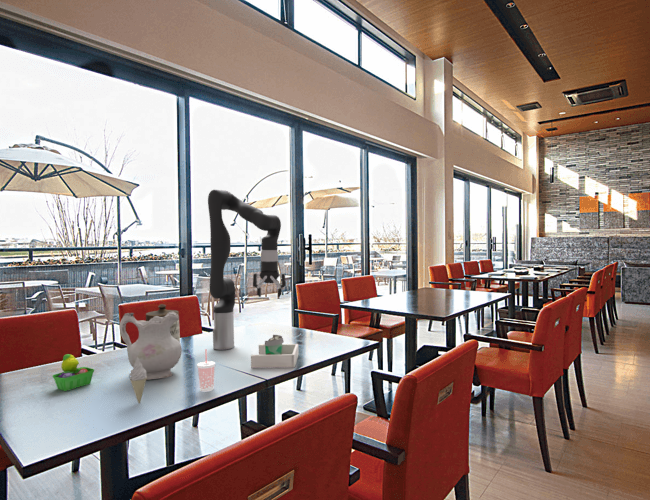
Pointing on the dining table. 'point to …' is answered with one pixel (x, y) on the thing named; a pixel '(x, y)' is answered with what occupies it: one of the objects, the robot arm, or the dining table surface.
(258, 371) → the dining table surface
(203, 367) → the beverage cup
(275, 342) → the food container
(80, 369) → the fruit basket
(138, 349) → the ceramic pitcher
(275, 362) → the box
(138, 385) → the ice cream cone
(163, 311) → the lidded jar
